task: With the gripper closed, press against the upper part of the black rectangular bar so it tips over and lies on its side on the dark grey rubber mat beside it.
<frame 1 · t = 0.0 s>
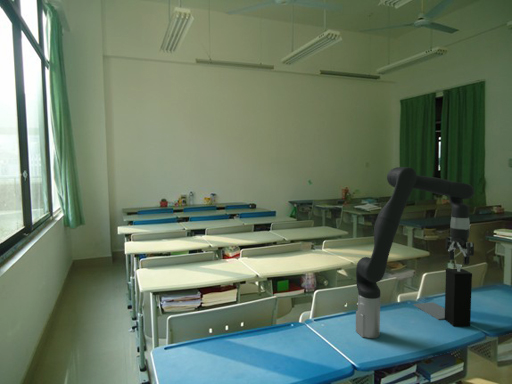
hand: (458, 261, 158), 29 cm above the table, tool pointing down, fingers open, 8 cm apart
black rectangular bar: (457, 323, 161), on the table
rubber mat: (435, 311, 175), on the table
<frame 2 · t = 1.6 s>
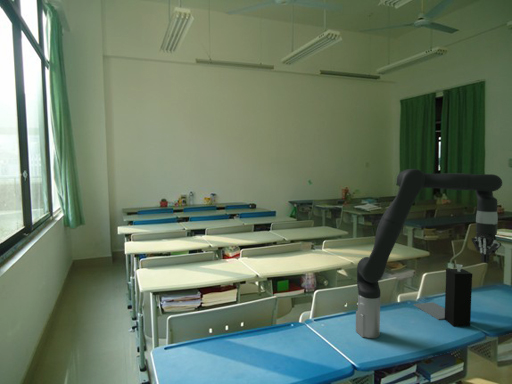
hand: (484, 262, 146), 33 cm above the table, tool pointing down, fingers closed
nothing on the table moved.
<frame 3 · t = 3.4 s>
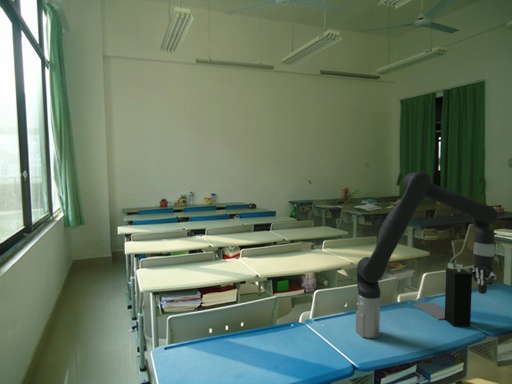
hand: (482, 293, 147), 19 cm above the table, tool pointing down, fingers closed
nothing on the table moved.
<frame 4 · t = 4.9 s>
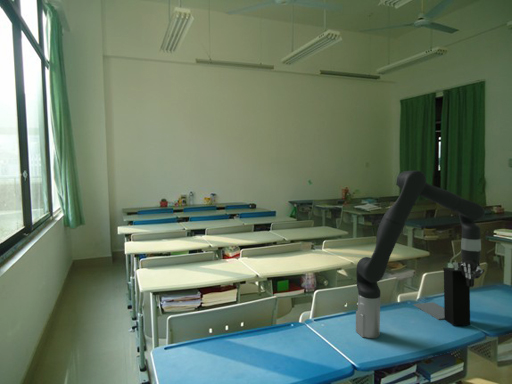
hand: (470, 286, 154), 19 cm above the table, tool pointing down, fingers closed
black rectangular bar: (457, 322, 161), on the table, touching hand
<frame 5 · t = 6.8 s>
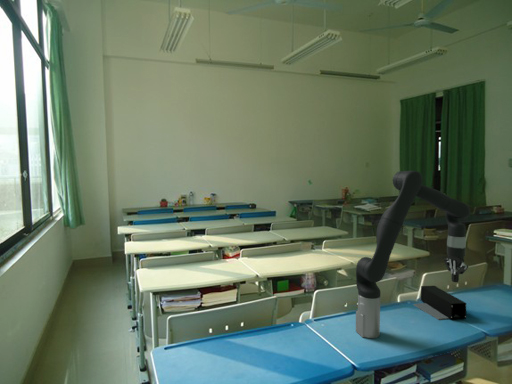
hand: (455, 281, 162), 19 cm above the table, tool pointing down, fingers closed
black rectangular bar: (459, 311, 164), point 4 cm above the table, touching rubber mat
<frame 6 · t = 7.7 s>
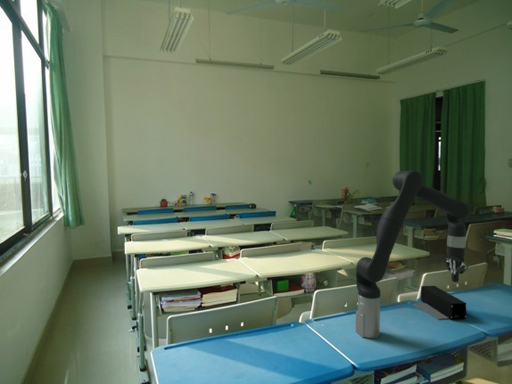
hand: (454, 281, 162), 19 cm above the table, tool pointing down, fingers closed
nothing on the table moved.
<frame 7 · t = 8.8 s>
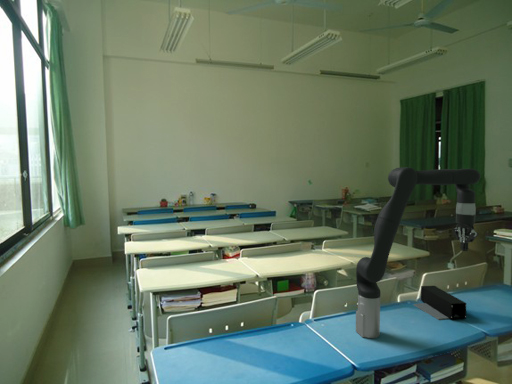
hand: (464, 250, 156), 35 cm above the table, tool pointing down, fingers closed
nothing on the table moved.
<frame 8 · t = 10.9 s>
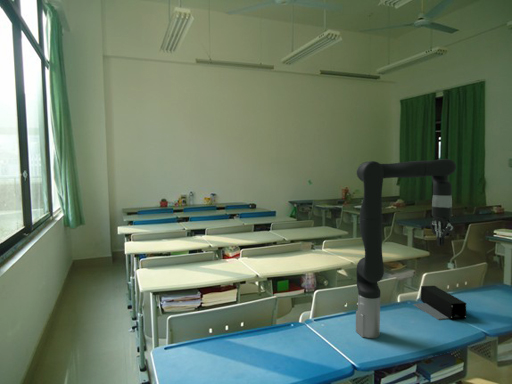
hand: (440, 245, 149), 39 cm above the table, tool pointing down, fingers closed
nothing on the table moved.
at the end: black rectangular bar tilted 90°; black rectangular bar touching rubber mat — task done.
